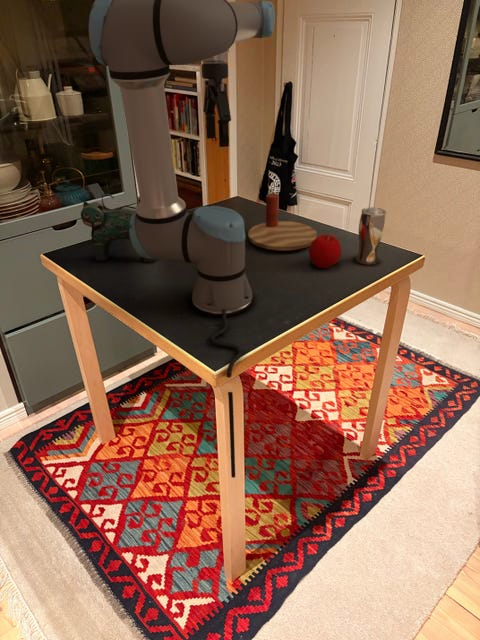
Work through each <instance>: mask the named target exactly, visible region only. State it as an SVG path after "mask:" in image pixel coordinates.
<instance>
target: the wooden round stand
mask: <svg viewBox="0 0 480 640" xmlns="http://www.w3.org/2000/svg"><path fill="white" fill-rule="evenodd" d="M265 199H266V200H265V201H266V202H265V222H262V223H259V224H256V225H254V226H252V227H251V228H250V229H249V230H248V233H247V237H248V240H249V242H251V243H252V244H253V245H255V246H257V247H259V248H262V249H266V250H270V251H271V250H272V251H295V250H302V249H306V248H308V247H310V245H311V243H312V242H313V241H314V240H315V239H316V238H317V237H318V232H317V231H316V229H314V227H312V226H309V225H308V224H304V223H301V222H298V221H297V222H296V221H290V220H289V221H288V220H279V202H280V201H279V199H280V195H279V194H277V193H267V194H266V197H265Z"/></svg>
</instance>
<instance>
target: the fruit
mask: <svg viewBox="0 0 480 640" xmlns="http://www.w3.org/2000/svg"><path fill="white" fill-rule="evenodd" d="M331 233H332V232H330V231H329V232H328V234H321V235H319V236H317V238H316V239H315V240H314V241H313V242H312V243H311V245H310V246H309V248H308V255H309V259H310V261H311V263H312V264H313V265H314V266H316V267H318V268H321V269H326V268H329V267H333V266H335V265H336V264H337V263H338V262H339V259H340V258H341V254H342V246H341V243H340V242H339V240H338V238H336V237H335V236H333V235H331Z"/></svg>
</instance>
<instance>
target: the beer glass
mask: <svg viewBox="0 0 480 640" xmlns="http://www.w3.org/2000/svg"><path fill="white" fill-rule="evenodd" d="M360 212H361V213H360V216H359V223H358V251H357V255H356V257H355V261H356V262H357V263H359V264H361V265H365V266H372V265H376V264H377V263H378V251H379V247H380V243H381V240H382V238H383V236H384V235H383V234H384V231H385V225H386V213H387V211H386V210H385V209H383V208H379V207H372V206H371V207H365V208H364V207H363V208H362V209H361V211H360Z"/></svg>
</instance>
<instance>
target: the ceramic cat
mask: <svg viewBox="0 0 480 640" xmlns="http://www.w3.org/2000/svg"><path fill="white" fill-rule="evenodd" d="M105 196H109V197H110V198H112V199H113V200H114V199H115V197H114V196H113V195H112V194H110V193H104V194H102V196H101V202H97V201H94V202H91V203H89V202H87V201H83V203H82V210H81V211H80V217H81V221H82V223H83V224H84V225H85V226H87V227H89V228H91V233H90V237H91V241H92V249H93V253H94V258H95V261H96V262H97V261H98V262H105V261H107V260H108V259H109V258H110V257H111V253H110V245H111V242H112V241H116V240H129V241H131V239H130V232H129V229H130V228H131V226H130V219H131V217H132V215H133V213H134V212H135V211H136V210H135V208H136V206H130V205H123V206H120V207H116V208H109V207H107V206H106V205H105V202H104V200H103V199H104V197H105ZM142 259H143V262H144V263H153V262H154V261H155V260H154V259H149V258H144V257H142Z"/></svg>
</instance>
